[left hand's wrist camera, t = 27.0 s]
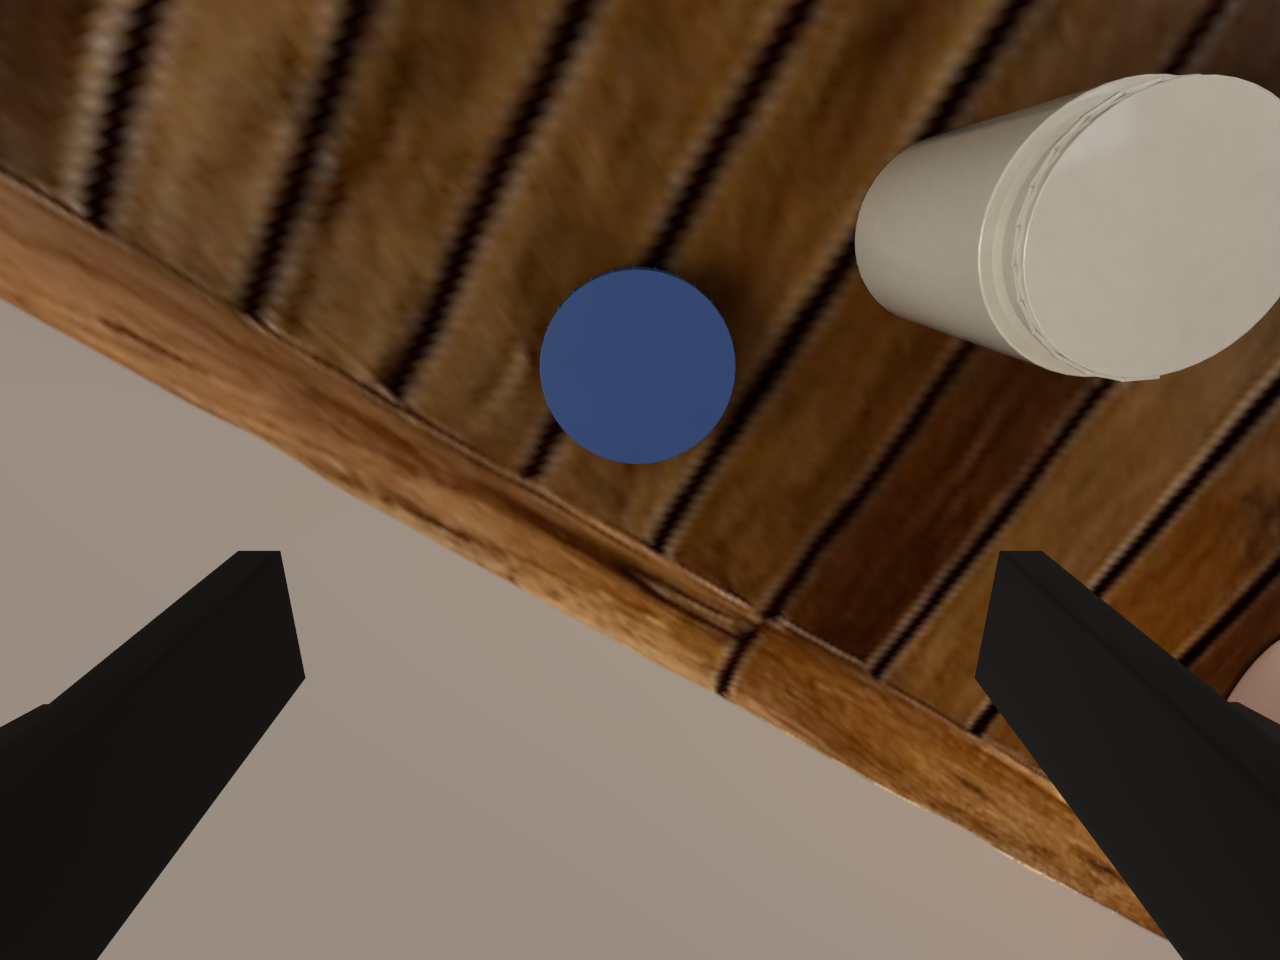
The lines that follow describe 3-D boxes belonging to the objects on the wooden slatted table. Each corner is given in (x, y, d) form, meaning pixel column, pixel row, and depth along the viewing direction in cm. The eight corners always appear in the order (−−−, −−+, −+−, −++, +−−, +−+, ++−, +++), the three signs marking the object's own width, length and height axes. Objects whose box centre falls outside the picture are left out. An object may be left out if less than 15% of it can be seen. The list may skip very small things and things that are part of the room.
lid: (673, 482, 40) (675, 496, 38) (513, 399, 39) (505, 410, 36) (767, 325, 37) (775, 331, 35) (597, 228, 36) (594, 228, 33)
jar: (857, 140, 34) (1029, 71, 19) (1048, 124, 34) (1374, 43, 19) (851, 330, 37) (995, 400, 22) (1025, 317, 37) (1290, 379, 22)
